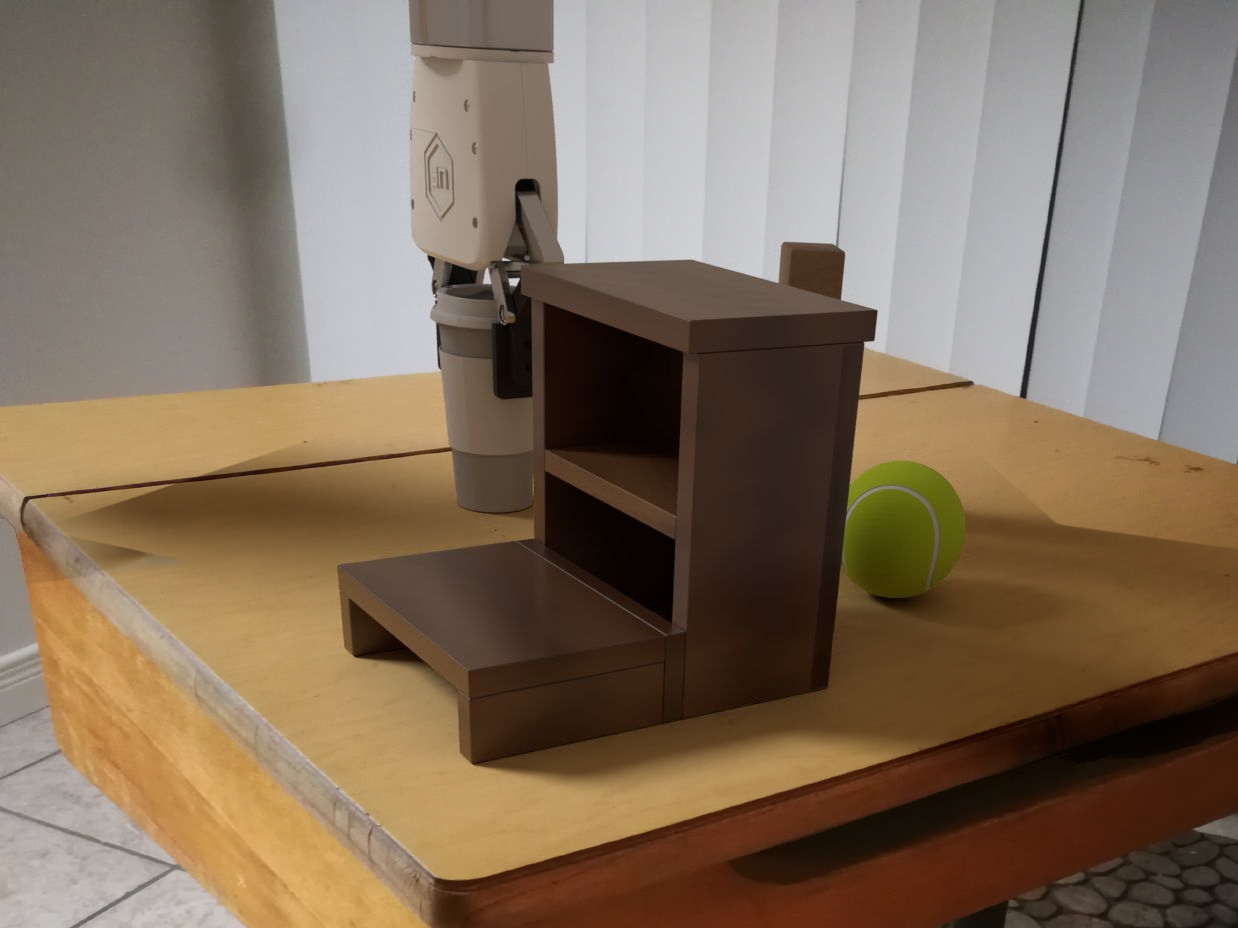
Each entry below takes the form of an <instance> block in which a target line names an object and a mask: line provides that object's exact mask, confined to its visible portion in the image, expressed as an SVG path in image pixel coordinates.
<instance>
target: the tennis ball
mask: <svg viewBox="0 0 1238 928" xmlns="http://www.w3.org/2000/svg"><path fill="white" fill-rule="evenodd" d="M965 537H966V517H965V511H964V507H963V504H962V501H961V499H960V496H959V495H958V493H957V491H956V489H955V488H954V487H953V485H952V484H951V483H950V482H949V480H948V479H947V478H946V477H945V476H943V475H942V474H941V473H940V472H938V471H937V470H935V469H934V468H932V467H931V466H928V465H925V464H923V463H920V462H916V461H910V460H892V461H887V462H883V463H880V464H876V465H875V466H872V467H871V468H868V469H867V470H865V471H864V472H862V473H860V474H859V475H858V476H857V477H856V478H854V479H853V481H852V482H850V487H849V496H848V506H847V515H846V525H845V534H844V544H843V553H842V563H841V570H842V571H843V573H844V575H846V576H847V577H848V578H849V579H850V581H851V582H852V583H853V584H855V585H857V587H859V588H860V589H862V590H864V591H866V592H867V593H869V594H871V595H874V596H877V597H882V598H887V599H907V598H912V597H915V596H919V595H922V594H924V593H926V592H928V591H929V590H930V589H933V588H935V587H937V586H938V585H939V584H941V582H942V581H944V579H945V578H947V576H948V575H949V574H950V573H951V571H952V570H953V568H954V567H955V565H956V564H957V562H958V559H959V557H960V555H961V553H962V549H963V547H964V543H965Z"/></svg>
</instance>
